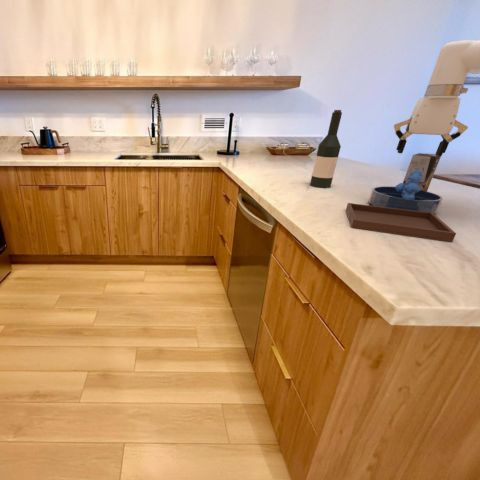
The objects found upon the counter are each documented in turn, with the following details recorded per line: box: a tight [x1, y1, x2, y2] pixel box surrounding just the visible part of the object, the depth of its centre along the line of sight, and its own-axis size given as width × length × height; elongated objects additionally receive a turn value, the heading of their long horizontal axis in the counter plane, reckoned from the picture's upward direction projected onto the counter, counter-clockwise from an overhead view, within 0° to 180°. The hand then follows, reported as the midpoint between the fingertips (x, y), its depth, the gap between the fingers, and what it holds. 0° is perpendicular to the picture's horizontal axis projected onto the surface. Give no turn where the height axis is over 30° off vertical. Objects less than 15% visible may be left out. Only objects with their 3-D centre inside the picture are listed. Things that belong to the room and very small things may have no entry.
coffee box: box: [402, 152, 442, 192], centre depth 101 cm, size 9×6×16 cm
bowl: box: [368, 185, 444, 215], centre depth 96 cm, size 18×18×5 cm
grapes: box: [394, 170, 423, 200], centre depth 94 cm, size 12×7×12 cm, turn 140°
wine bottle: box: [309, 109, 343, 189], centre depth 118 cm, size 8×8×30 cm
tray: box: [345, 202, 457, 243], centre depth 82 cm, size 22×18×2 cm
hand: (418, 154), depth 90 cm, fingers open, 9 cm apart
